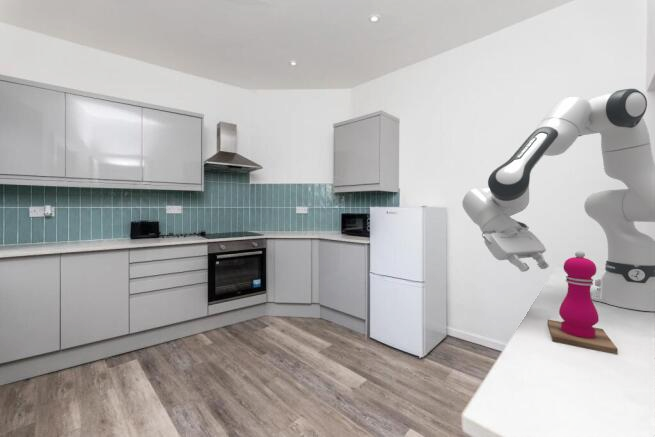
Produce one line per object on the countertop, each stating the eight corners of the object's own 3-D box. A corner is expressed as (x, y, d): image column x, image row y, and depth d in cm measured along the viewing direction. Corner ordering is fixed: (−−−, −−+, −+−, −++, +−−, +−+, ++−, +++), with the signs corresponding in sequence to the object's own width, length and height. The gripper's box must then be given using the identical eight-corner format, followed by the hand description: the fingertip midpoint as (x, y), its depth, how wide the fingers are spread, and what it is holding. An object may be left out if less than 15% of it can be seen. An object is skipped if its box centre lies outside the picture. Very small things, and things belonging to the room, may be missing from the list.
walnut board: (547, 323, 78) (547, 319, 78) (602, 333, 72) (602, 328, 72) (552, 341, 67) (552, 336, 67) (617, 354, 61) (617, 349, 61)
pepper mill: (606, 340, 65) (609, 253, 65) (570, 337, 67) (572, 252, 66) (584, 328, 72) (586, 249, 72) (552, 325, 74) (554, 248, 73)
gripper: (486, 224, 80) (522, 264, 71) (528, 223, 89) (565, 259, 81) (472, 238, 84) (504, 278, 75) (513, 237, 93) (546, 272, 85)
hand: (536, 269), depth 78 cm, fingers open, 8 cm apart
